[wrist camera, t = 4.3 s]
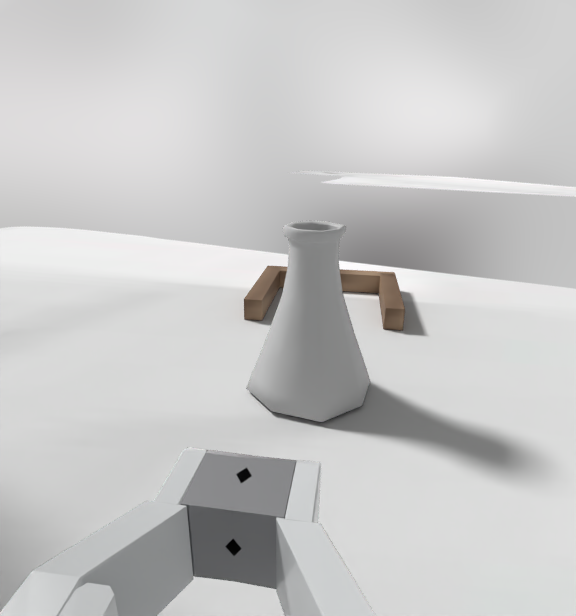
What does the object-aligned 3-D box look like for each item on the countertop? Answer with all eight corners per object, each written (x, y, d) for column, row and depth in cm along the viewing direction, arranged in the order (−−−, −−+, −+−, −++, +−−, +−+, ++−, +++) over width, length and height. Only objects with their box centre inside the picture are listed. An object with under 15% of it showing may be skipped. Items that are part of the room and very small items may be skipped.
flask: (389, 384, 28) (407, 224, 24) (326, 441, 22) (337, 246, 19) (296, 351, 32) (300, 210, 28) (224, 393, 26) (217, 226, 23)
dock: (244, 319, 37) (243, 299, 36) (267, 282, 47) (267, 265, 46) (402, 330, 35) (404, 309, 35) (392, 289, 45) (394, 272, 44)
